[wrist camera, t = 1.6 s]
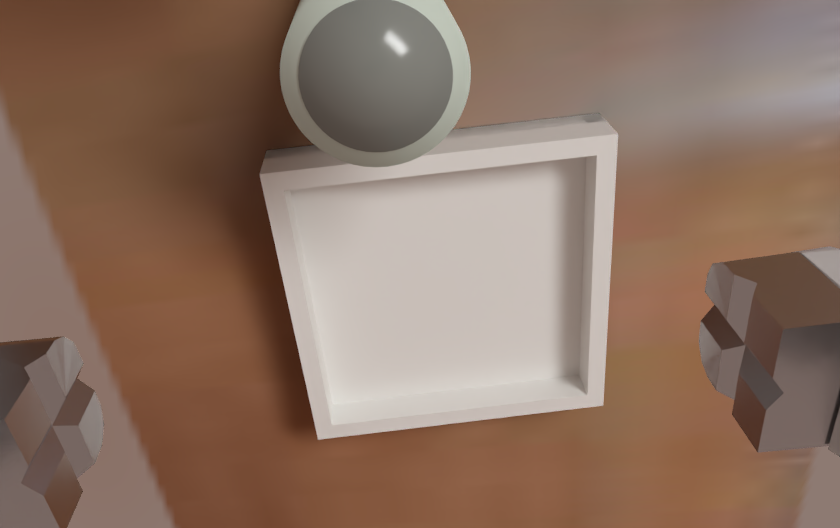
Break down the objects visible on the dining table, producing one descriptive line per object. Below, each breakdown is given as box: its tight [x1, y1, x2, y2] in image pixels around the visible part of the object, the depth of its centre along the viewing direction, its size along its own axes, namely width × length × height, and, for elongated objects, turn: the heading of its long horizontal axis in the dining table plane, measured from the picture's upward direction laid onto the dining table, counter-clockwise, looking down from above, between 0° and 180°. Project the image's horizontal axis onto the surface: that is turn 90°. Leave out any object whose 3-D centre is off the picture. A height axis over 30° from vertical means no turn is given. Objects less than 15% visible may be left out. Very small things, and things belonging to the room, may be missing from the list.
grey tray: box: [259, 113, 618, 440], centre depth 32 cm, size 14×14×2 cm
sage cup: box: [280, 0, 471, 167], centre depth 23 cm, size 5×5×9 cm
